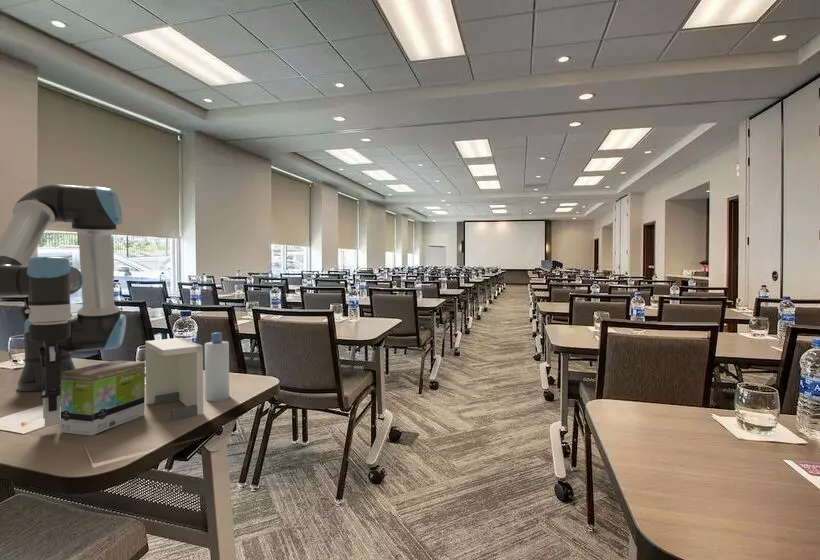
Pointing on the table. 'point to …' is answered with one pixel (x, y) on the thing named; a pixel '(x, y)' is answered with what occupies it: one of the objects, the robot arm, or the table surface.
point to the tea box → (101, 396)
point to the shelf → (175, 370)
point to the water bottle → (216, 368)
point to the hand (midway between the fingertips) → (51, 420)
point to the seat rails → (177, 412)
